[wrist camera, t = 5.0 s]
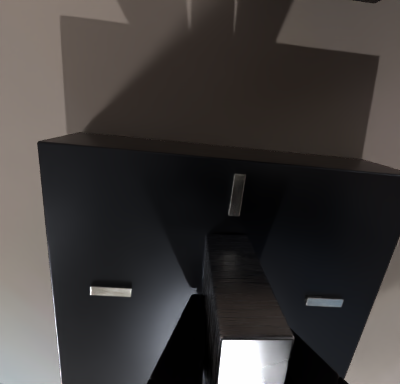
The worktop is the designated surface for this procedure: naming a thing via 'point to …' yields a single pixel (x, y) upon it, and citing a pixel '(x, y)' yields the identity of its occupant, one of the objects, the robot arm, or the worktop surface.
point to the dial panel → (195, 242)
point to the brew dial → (241, 317)
